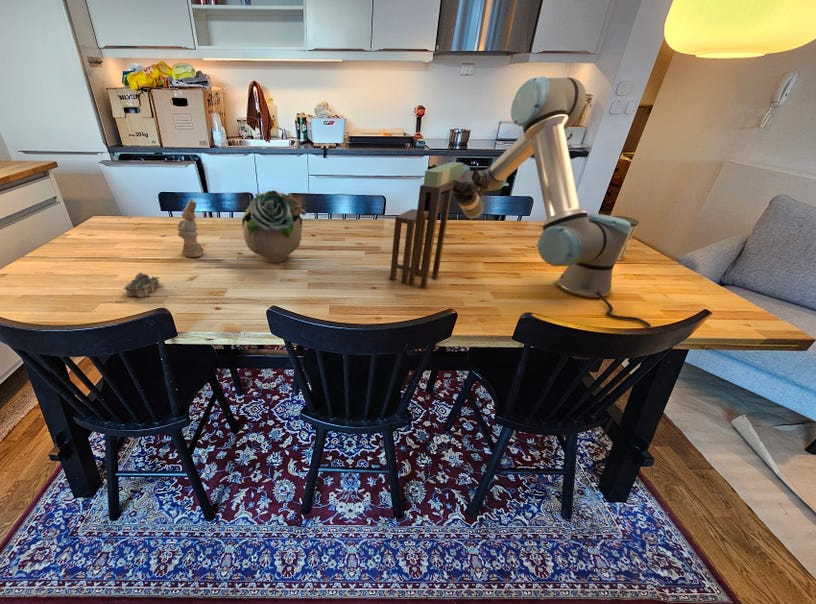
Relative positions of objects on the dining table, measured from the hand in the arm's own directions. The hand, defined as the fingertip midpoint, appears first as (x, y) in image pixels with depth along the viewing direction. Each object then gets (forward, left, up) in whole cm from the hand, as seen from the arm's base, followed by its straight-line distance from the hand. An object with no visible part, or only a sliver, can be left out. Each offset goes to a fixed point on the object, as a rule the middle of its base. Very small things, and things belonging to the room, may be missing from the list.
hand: (452, 170), depth 124 cm
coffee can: (-10, -72, -33) cm, 80 cm away
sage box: (-4, +6, -2) cm, 8 cm away
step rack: (-4, +11, -33) cm, 35 cm away
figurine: (+45, +82, -33) cm, 99 cm away
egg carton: (+16, +99, -33) cm, 105 cm away
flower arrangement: (+30, +53, -33) cm, 69 cm away
